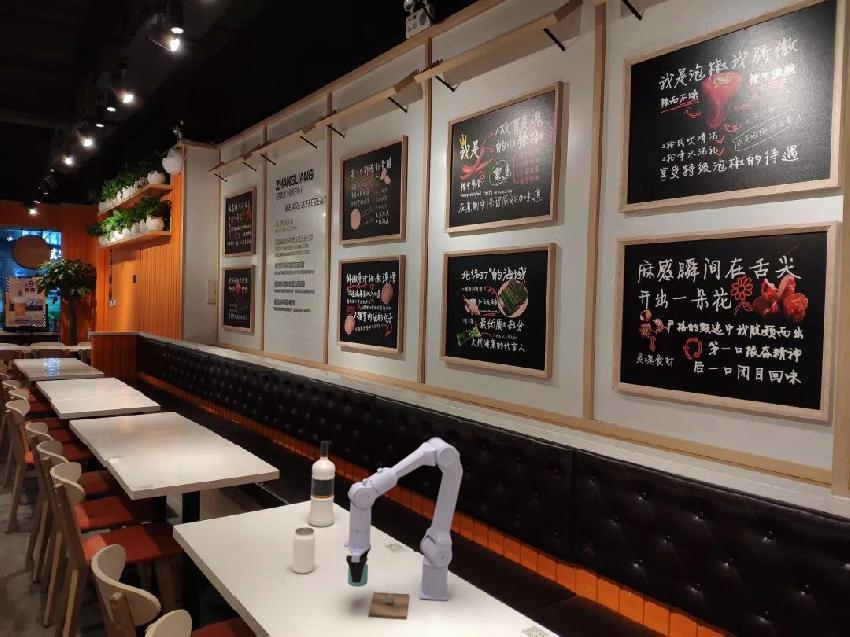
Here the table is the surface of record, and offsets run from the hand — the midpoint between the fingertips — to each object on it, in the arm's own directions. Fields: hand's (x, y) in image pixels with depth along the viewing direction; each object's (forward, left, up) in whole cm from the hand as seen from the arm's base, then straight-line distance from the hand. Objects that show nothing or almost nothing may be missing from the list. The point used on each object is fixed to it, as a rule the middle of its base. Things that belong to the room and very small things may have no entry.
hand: (357, 576), depth 171 cm
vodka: (-57, -21, -8) cm, 61 cm away
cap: (0, 0, -1) cm, 1 cm away
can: (-19, -19, -8) cm, 28 cm away
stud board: (0, +9, -8) cm, 12 cm away
